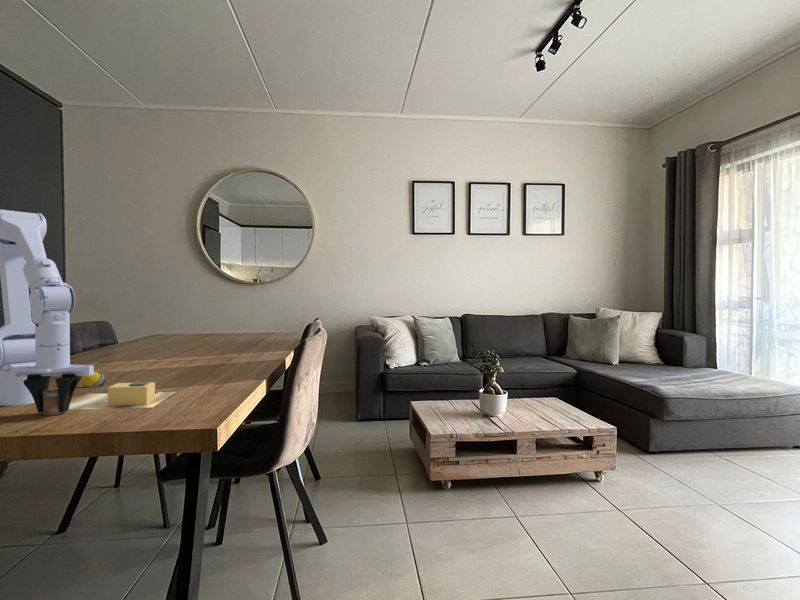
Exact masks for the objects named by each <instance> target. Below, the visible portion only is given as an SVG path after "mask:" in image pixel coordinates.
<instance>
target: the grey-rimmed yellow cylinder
mask: <svg viewBox="0 0 800 600" xmlns="http://www.w3.org/2000/svg"><path fill="white" fill-rule="evenodd" d="M80 381H81V383H82V384H83V386H82V387H83V388H100V387H101V388H102V387H103V386H104V385H105V384H106V382H107V380H105V374H103V373H102V372H101V371H98V372H97V371H96V372H95V371H94V374H93V375H90V376H84V375H81V380H80Z"/></svg>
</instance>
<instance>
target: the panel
mask: <svg viewBox="0 0 800 600" xmlns="http://www.w3.org/2000/svg"><path fill="white" fill-rule="evenodd" d="M175 393H176V391H155V400H154V401H152V402H151V403H149V404H147V405H121V406H108V392H107V393H105V392H104V393H87V394H85V395H83V396H81V397H80V396H79V398H76V399H74V400H71V402H70V406H69V410H68V411H72V410H74V411H75V410H77V411H78V410H107V409H110V410H111V409H147V408H148V409H149V408H154V407H155V406H157V405H159V404H160V403H161V402H164V400H166V399H167V398H169V397H170V396H172V395H174V394H175Z"/></svg>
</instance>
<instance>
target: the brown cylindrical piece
mask: <svg viewBox="0 0 800 600" xmlns="http://www.w3.org/2000/svg"><path fill="white" fill-rule="evenodd" d="M42 396H43V412H42V415H43V416H46V417H51V416H52V417H53V416H58V415H62V414H64V413H65V412H60V410H59V392H58V387H56V388H48V389H47V390H43V391H42Z"/></svg>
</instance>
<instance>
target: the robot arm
mask: <svg viewBox="0 0 800 600" xmlns="http://www.w3.org/2000/svg"><path fill="white" fill-rule="evenodd" d="M47 226H48V225H47V219H46V218H45V216H44V215H43V213H40V212H37V213H34V212H25V211H16V210H7V209H1V208H0V286H1V294H2V295H1V297H2V307H3V318H4V325H3V326H1V327H0V406H9V407H10V406H11V407H12V406H13V407H15V406H23V405H24V406H25V405H29V404H34V405H35V407H36V410H37V413H38V414H41V413H42V414H43V396H42V391H43V390H47V389H50V388H49V387H50V382H51V378H52V377H57V378H55V383H56V386H57V387H56V388H58V392H59V410H60V412H64V413H65V412H67V411H70V410H69V406H70V402H71V401H72V398H73V395H74V392H75V390H76V389H77V386H78V384H79V383H80V381H81V375H84V376H90V375H93V374H94V372H95V371H94V370H95V369H94V368H95V367H94V365H93V364H91V365H90V364H89V365H87V364H71V345H70V344H71V337H70V335H71V331H70V330H71V329H70V327H71V325H70V324H71V322H70V321H71V320H70V319H71V318H70V315H71V314H72V313H73V311H74V310H75V306H76V305H75V304H76V294H75V291H74V289H73V287H72V286H71V285H68V283H67V282H63V280H62V277H61V274H60V272H59V269H58V267H57V265H56V263H55V261H53V260H52V259H50V258H47V253H46V250H45V246H44V243H43V241H44V239H45V236H46V234H47V228H48V227H47ZM29 290H30V292H29Z"/></svg>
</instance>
